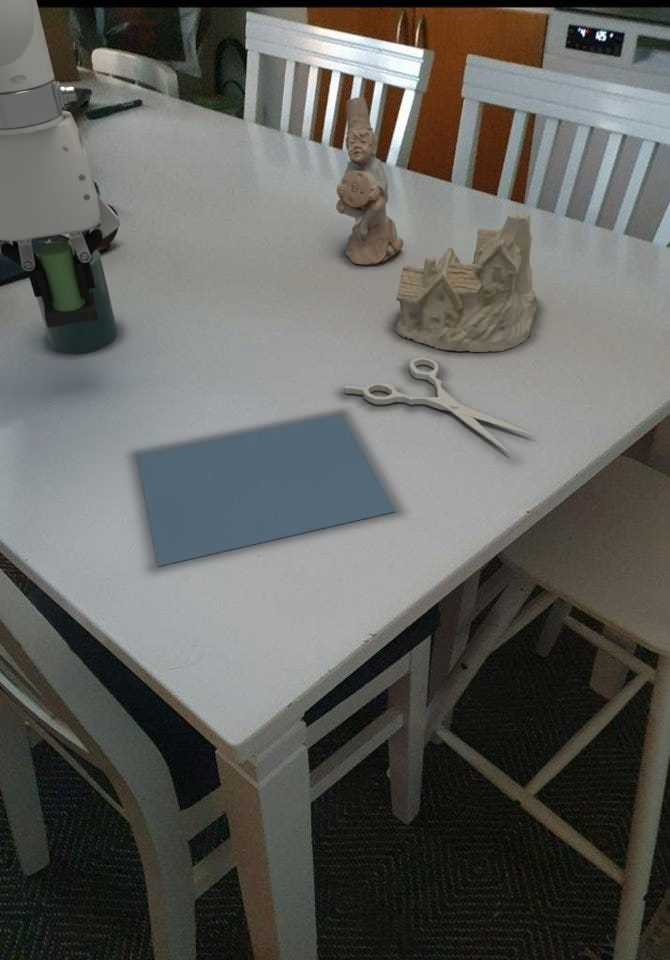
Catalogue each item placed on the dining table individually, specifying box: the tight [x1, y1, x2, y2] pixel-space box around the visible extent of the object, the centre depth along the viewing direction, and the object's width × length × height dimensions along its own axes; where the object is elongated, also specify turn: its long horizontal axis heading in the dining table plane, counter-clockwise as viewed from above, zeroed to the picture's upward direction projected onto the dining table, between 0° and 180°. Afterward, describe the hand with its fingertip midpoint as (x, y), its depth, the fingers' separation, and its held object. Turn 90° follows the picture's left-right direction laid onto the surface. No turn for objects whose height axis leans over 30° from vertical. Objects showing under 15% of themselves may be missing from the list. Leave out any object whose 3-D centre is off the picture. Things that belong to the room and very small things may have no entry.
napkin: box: [136, 413, 396, 568], centre depth 75 cm, size 21×16×1 cm
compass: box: [66, 203, 119, 253], centre depth 115 cm, size 8×8×7 cm
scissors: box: [343, 357, 537, 457], centre depth 83 cm, size 11×1×20 cm
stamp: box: [37, 241, 98, 328], centre depth 81 cm, size 5×4×7 cm
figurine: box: [335, 96, 404, 265], centre depth 107 cm, size 9×8×20 cm
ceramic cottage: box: [395, 211, 538, 353], centre depth 94 cm, size 16×16×15 cm
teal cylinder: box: [35, 245, 119, 355], centre depth 95 cm, size 8×8×10 cm
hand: (67, 296), depth 82 cm, fingers closed on stamp, 3 cm apart
